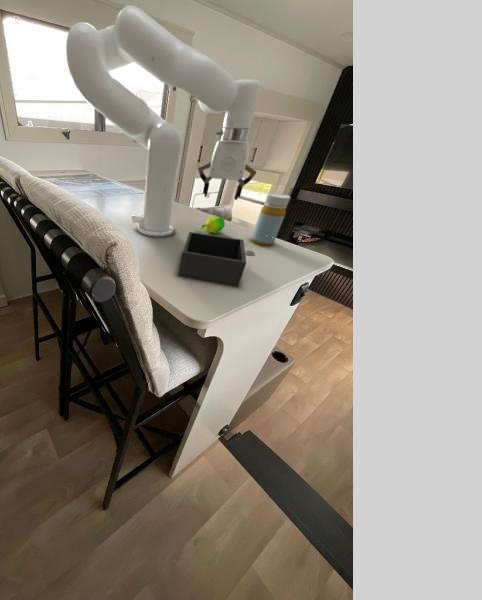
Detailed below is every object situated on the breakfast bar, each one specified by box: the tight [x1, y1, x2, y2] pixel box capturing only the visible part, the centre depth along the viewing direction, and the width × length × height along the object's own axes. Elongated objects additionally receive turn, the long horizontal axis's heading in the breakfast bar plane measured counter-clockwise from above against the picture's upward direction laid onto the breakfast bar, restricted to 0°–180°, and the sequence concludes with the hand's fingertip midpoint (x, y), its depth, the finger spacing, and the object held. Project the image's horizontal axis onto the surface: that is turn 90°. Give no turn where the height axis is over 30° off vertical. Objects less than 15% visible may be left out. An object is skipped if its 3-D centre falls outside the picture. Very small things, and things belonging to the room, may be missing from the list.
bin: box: [177, 231, 247, 288], centre depth 66 cm, size 15×15×7 cm
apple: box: [198, 214, 226, 235], centre depth 89 cm, size 7×6×9 cm
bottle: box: [251, 192, 291, 247], centre depth 80 cm, size 7×7×15 cm
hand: (220, 197), depth 83 cm, fingers open, 9 cm apart
